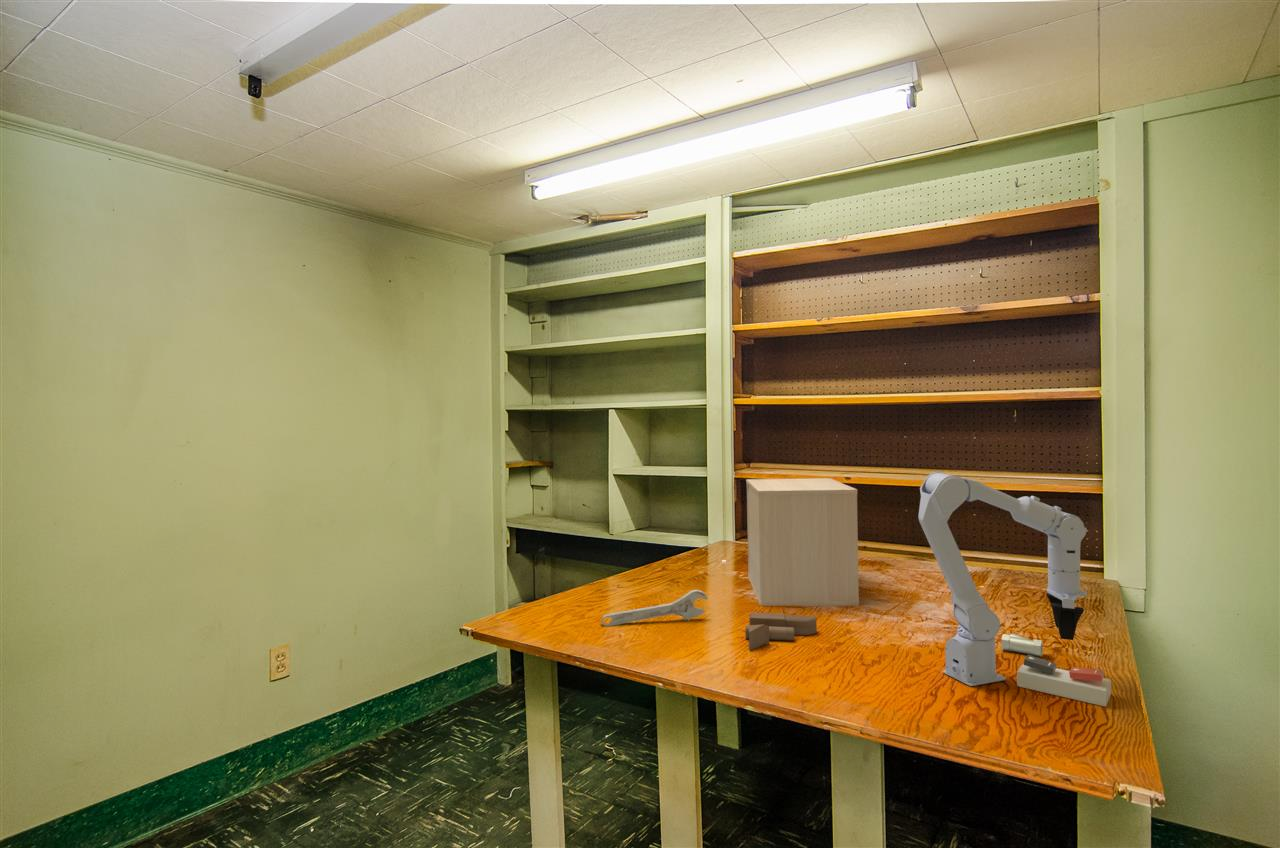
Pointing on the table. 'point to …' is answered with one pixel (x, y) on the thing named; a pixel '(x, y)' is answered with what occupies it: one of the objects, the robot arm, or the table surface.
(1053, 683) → the rocker switch panel
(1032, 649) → the pipe fitting
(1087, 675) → the red rocker
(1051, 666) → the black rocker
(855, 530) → the beige wooden block
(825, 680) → the table surface
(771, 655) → the table surface
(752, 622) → the wooden block set
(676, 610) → the wrench
